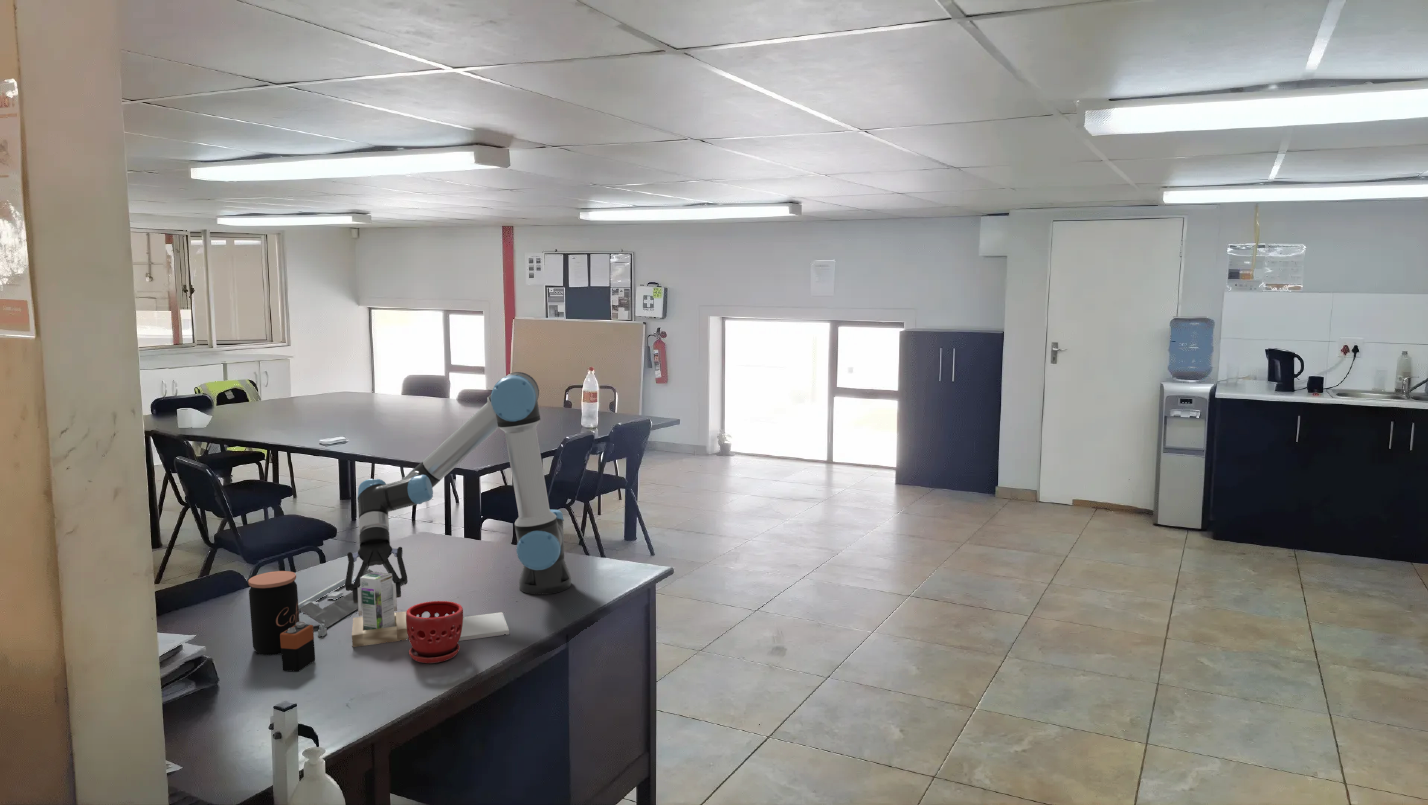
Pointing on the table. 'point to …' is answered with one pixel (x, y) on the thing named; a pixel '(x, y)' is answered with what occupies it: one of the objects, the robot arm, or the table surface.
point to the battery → (297, 647)
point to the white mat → (483, 626)
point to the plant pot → (434, 631)
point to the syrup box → (377, 600)
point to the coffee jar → (272, 609)
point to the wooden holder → (379, 632)
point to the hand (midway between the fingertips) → (378, 610)
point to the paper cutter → (329, 606)
